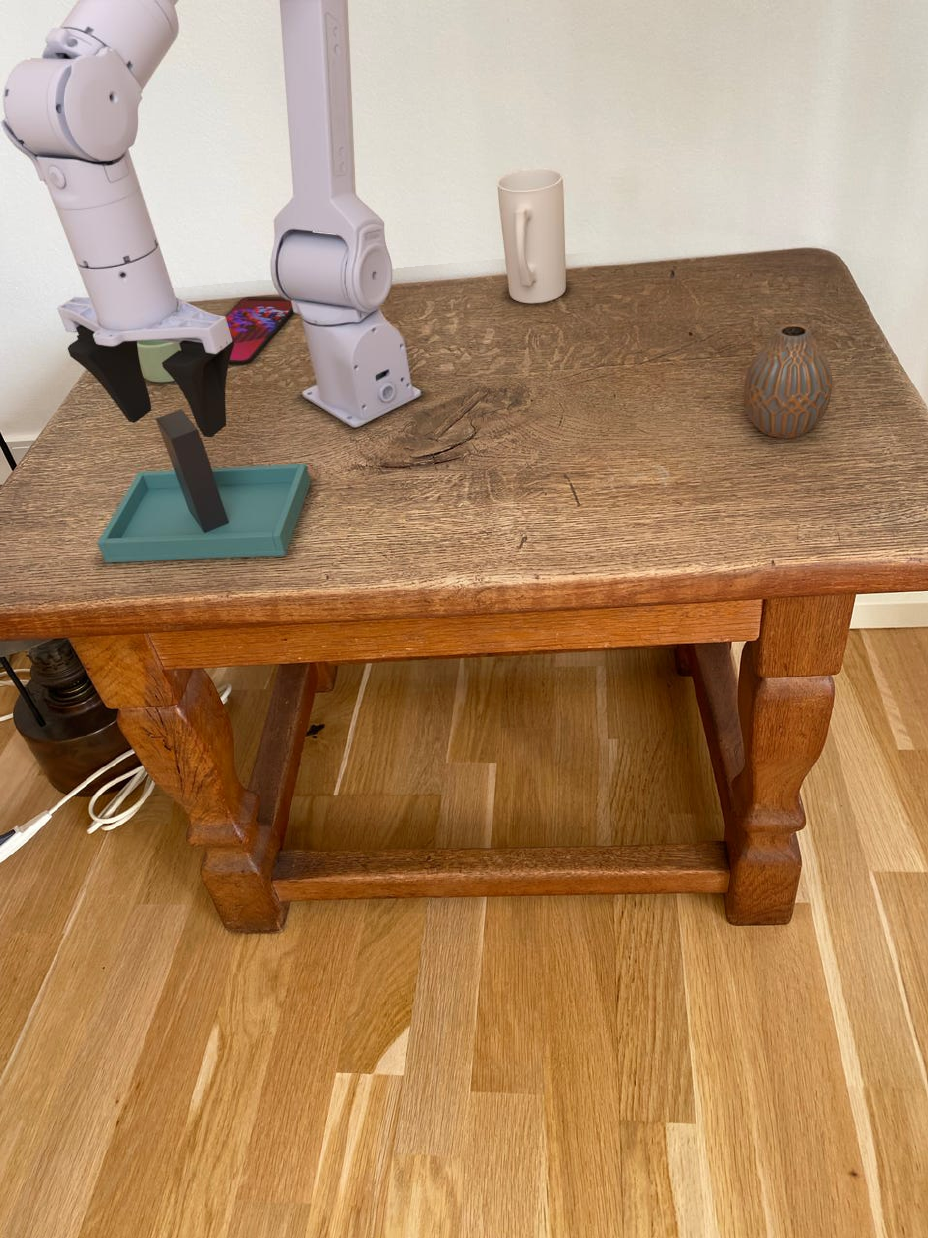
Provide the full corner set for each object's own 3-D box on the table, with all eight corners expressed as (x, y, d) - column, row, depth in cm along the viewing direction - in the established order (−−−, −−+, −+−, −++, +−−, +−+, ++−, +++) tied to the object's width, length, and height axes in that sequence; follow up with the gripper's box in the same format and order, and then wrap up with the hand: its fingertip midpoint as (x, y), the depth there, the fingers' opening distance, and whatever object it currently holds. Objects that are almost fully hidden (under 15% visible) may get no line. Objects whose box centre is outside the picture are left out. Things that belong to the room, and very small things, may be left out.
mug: (514, 278, 114) (505, 168, 106) (573, 278, 112) (568, 166, 104) (493, 318, 107) (481, 204, 99) (556, 319, 105) (549, 202, 97)
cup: (219, 363, 107) (208, 328, 104) (159, 389, 104) (147, 353, 101) (189, 344, 111) (178, 310, 109) (131, 368, 108) (118, 334, 106)
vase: (735, 408, 88) (741, 314, 83) (816, 401, 88) (828, 306, 82) (749, 451, 83) (757, 354, 77) (835, 444, 83) (849, 346, 77)
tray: (311, 482, 87) (306, 462, 86) (285, 555, 80) (279, 535, 79) (145, 490, 90) (138, 471, 88) (105, 562, 82) (96, 543, 81)
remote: (215, 500, 86) (184, 407, 80) (231, 522, 83) (200, 427, 78) (189, 511, 85) (155, 418, 79) (204, 533, 83) (170, 439, 77)
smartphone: (183, 359, 108) (243, 296, 118) (186, 367, 108) (244, 303, 119) (248, 361, 106) (303, 296, 116) (250, 369, 106) (304, 303, 116)
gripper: (1, 266, 70) (73, 435, 79) (159, 285, 64) (218, 465, 73) (72, 227, 75) (133, 391, 84) (226, 241, 69) (274, 416, 78)
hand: (177, 423), depth 79 cm, fingers open, 7 cm apart
